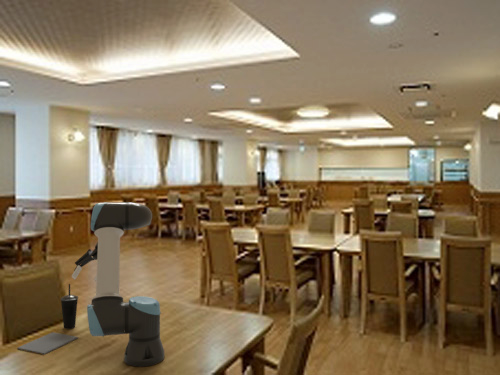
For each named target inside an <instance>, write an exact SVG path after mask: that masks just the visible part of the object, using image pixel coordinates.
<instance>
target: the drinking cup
mask: <svg viewBox="0 0 500 375" xmlns="http://www.w3.org/2000/svg"><path fill="white" fill-rule="evenodd" d="M59 300H60V301H61V302H60V303H61V312H62V313H61V314H62V315H61V316H62V324H63V329H65V330H71V329H74V328H75V327H76V320H77V311H78V301H79V296H78V295H74V294H71V284H70V283H69V284H68V294H67V295H64V296H62V297H61V298H60V299H59Z"/></svg>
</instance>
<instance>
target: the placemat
mask: <svg viewBox="0 0 500 375" xmlns="http://www.w3.org/2000/svg"><path fill="white" fill-rule="evenodd" d="M78 338H79V337H78V336H74V335H71V334H69V335H68V334H64V333H59V332H54V331H53V332H50V333H48V334H46V335H44V336H43V335H42V336H40V337H39V338H37V339H34V340H31V341H29V342H27V343H25V344H23V345H20V346H17V350H20V351H25V350H27V351H26V352H30V351H32V352H31V353H34V352H36V354H39V353H41V354H40V355H44V354H45V355H46V354H49V353H50V352H53V351H55V350H57V349H59V348H61V347H63V346H65V345H67V344H68V343H69V344H70V343H71V342H73V341H75V340H77V339H78Z"/></svg>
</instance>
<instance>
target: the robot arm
mask: <svg viewBox="0 0 500 375" xmlns="http://www.w3.org/2000/svg"><path fill="white" fill-rule="evenodd" d="M151 210H152V209H150V208H149V207H148V206H146V205H144V204H140V203H138V202H99V203H96V204H95V205H94V206H93V208H92V213H91V217H90V218H91V221H90V230H91V231H93V234H94V235H95V237H97V242H96V244H95V245H94V246H95V247H94V249H93V250H92V249H90V248H89V249H88V250H87V251H86V252H85V253H84V254H83V255H82V256H81V257H79V258H78V259H76V261H75V262H74V264H75V265H76V267H75V268H74V270H73V273H72V274H71V277H72V279H73V280H76V279H77V278H78V276H79V274H80V272H81V271H82V270H83V267H84V266H86V265H87V264H89V263H90V262H91V261H97V262H96V275H95V276H94V278H93V280H94V281H95V282H96V285H95V286H96V287H95V296H94V297H92V298H91V303H89V304H87V305H86V308H87V309H86V310H87V311H86V312H87V313H86V314H87V323H88V329H89V334H90V335H91V336H92V337H105V336H117V335H128V342H127V344H126V348H125V351H124V354H123V361H124V363H125V364H127V365H128V366H132V367H139V368H142V367H149V366H154V365H157V364H158V363H161V362H162V361H163V360H164V359H165V349H164V346H163V342H162V339H161V314H162V313H161V305H160V302H159V301H158V300H157V299H156V298H154V297H151V296H143V295H140V296H139V295H137V296H136V295H135V296H132V297H130V298H129V300H128V301H127V302H125V301H124V297H123V295H121V294H120V273H121V272H120V271H121V270H120V269H121V268H120V261H121V259H120V258H121V257H120V256H121V250H120V249H121V238H122V236H124V234H125V232H124V231H128V230H129V231H131V230H137V229H142V228H144V227H147V226H150V225H151V223H152V219H153V213H152V211H151Z"/></svg>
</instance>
